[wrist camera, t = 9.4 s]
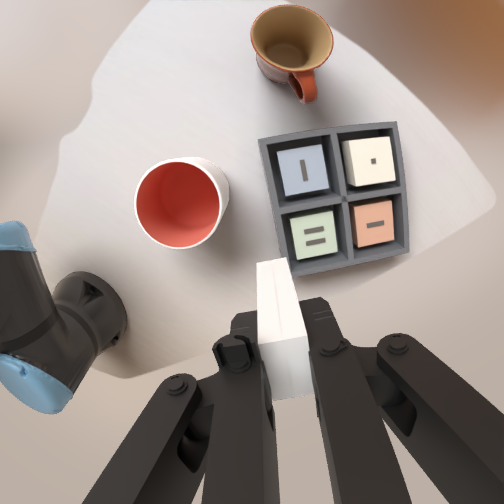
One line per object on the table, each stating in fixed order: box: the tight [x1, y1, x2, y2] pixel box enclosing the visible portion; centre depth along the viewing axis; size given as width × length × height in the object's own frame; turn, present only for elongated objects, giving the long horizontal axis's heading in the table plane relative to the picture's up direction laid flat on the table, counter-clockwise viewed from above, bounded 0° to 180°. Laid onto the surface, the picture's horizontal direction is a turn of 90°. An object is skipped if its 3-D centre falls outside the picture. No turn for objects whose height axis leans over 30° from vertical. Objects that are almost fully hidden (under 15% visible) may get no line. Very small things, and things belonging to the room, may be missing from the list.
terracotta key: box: [348, 196, 394, 247], centre depth 38 cm, size 6×6×4 cm
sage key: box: [287, 206, 338, 260], centre depth 39 cm, size 6×6×4 cm
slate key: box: [275, 144, 329, 196], centre depth 36 cm, size 6×6×4 cm
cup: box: [134, 157, 229, 250], centre depth 35 cm, size 10×10×10 cm
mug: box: [250, 5, 333, 104], centre depth 29 cm, size 12×9×10 cm
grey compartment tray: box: [258, 121, 409, 278], centre depth 37 cm, size 18×18×5 cm
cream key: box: [341, 137, 395, 186], centre depth 33 cm, size 6×6×4 cm
